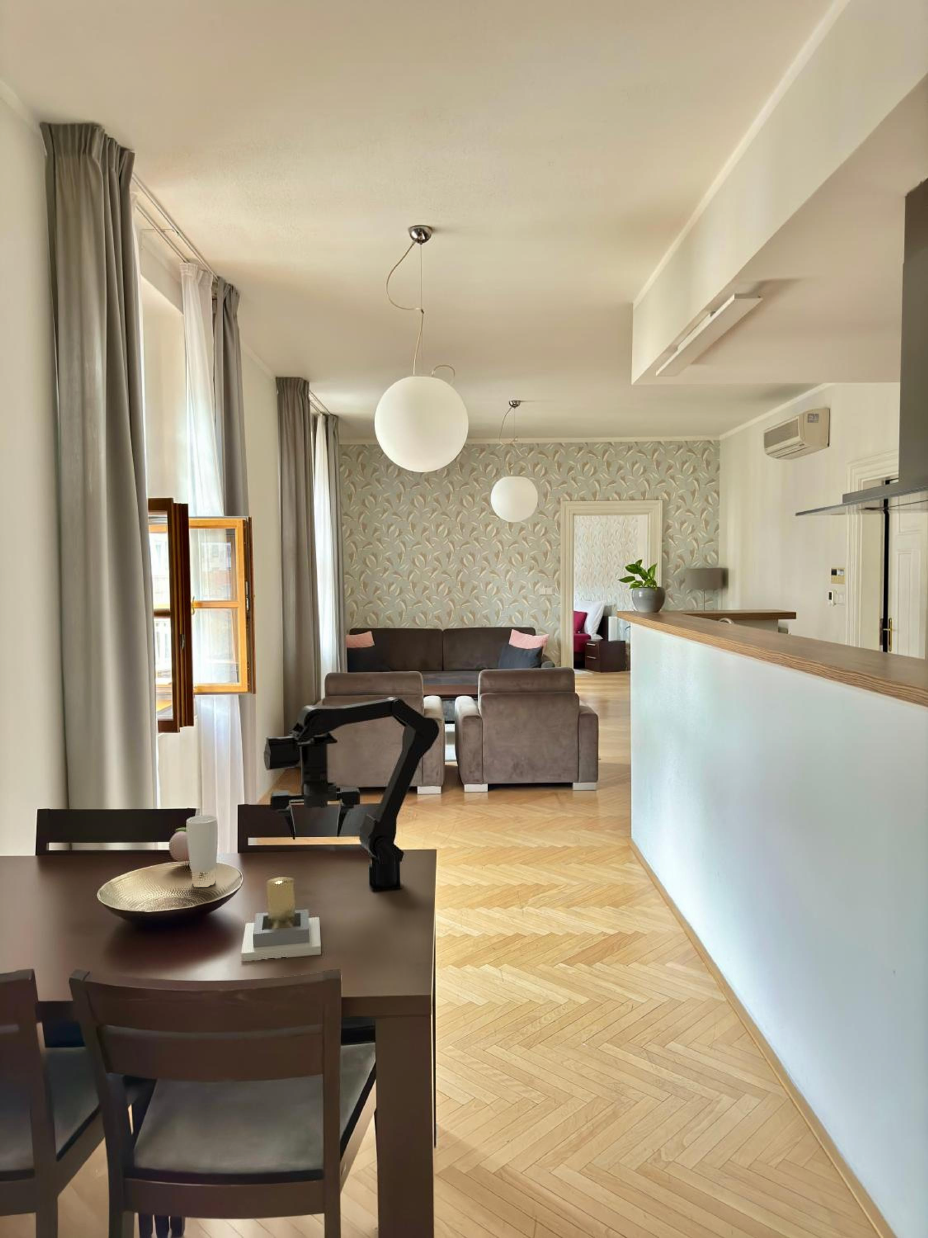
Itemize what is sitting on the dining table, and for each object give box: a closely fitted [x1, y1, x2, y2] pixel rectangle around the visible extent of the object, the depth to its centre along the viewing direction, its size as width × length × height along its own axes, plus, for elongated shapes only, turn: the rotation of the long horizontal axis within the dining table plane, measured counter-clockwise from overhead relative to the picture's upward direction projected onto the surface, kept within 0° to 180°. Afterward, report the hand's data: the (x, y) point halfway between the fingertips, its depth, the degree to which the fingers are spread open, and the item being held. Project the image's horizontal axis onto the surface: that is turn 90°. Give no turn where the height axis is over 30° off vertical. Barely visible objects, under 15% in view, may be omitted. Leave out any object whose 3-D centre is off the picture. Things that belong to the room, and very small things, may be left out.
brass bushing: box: [266, 876, 296, 930], centre depth 162 cm, size 5×5×10 cm
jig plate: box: [240, 908, 322, 962], centre depth 162 cm, size 14×14×4 cm
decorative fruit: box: [168, 827, 189, 862], centre depth 207 cm, size 9×8×10 cm
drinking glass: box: [185, 814, 219, 872], centre depth 194 cm, size 7×7×15 cm
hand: (316, 837), depth 185 cm, fingers open, 9 cm apart
